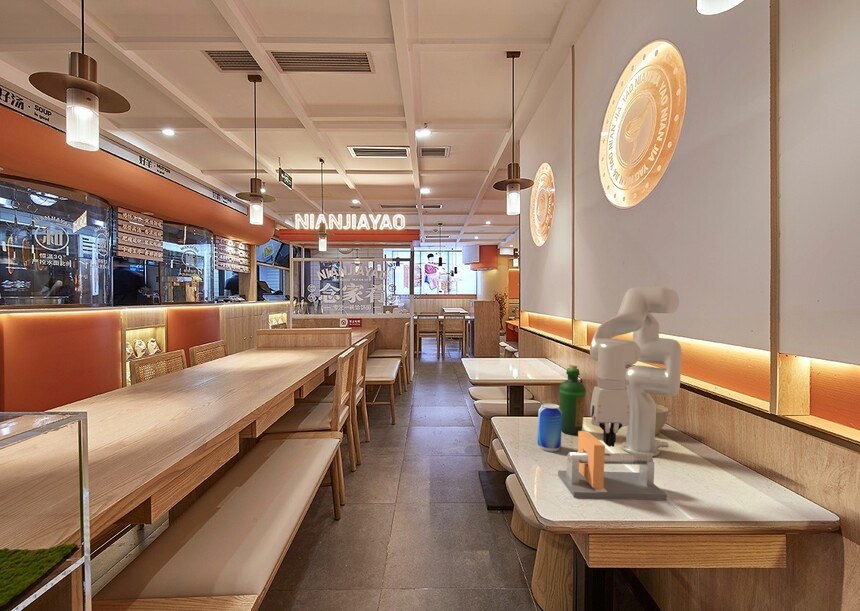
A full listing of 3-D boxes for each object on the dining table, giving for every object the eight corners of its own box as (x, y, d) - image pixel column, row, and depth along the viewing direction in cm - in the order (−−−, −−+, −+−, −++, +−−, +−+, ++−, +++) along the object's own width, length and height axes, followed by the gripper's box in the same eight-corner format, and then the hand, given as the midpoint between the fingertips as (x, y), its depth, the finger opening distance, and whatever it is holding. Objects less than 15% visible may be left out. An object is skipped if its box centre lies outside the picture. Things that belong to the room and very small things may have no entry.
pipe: (645, 479, 120) (646, 451, 120) (653, 486, 116) (654, 456, 116) (566, 477, 121) (567, 449, 120) (571, 484, 116) (572, 454, 116)
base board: (640, 477, 125) (640, 472, 125) (666, 499, 111) (666, 493, 111) (557, 475, 125) (558, 469, 125) (573, 497, 111) (574, 491, 111)
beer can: (557, 444, 152) (559, 403, 152) (563, 453, 144) (564, 409, 143) (535, 443, 153) (536, 402, 153) (539, 451, 145) (540, 407, 144)
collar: (586, 469, 124) (588, 431, 124) (603, 487, 112) (604, 445, 112) (577, 469, 124) (578, 431, 124) (592, 487, 112) (594, 445, 112)
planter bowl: (627, 423, 181) (628, 399, 181) (668, 430, 172) (669, 406, 172) (621, 432, 168) (622, 407, 168) (665, 441, 159) (666, 414, 159)
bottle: (588, 436, 162) (590, 368, 161) (562, 436, 162) (564, 367, 162) (579, 428, 173) (581, 364, 172) (554, 427, 173) (556, 363, 172)
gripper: (629, 381, 122) (628, 440, 122) (581, 380, 122) (579, 439, 122) (642, 387, 114) (640, 450, 115) (590, 386, 114) (589, 449, 115)
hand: (609, 444), depth 118 cm, fingers closed
